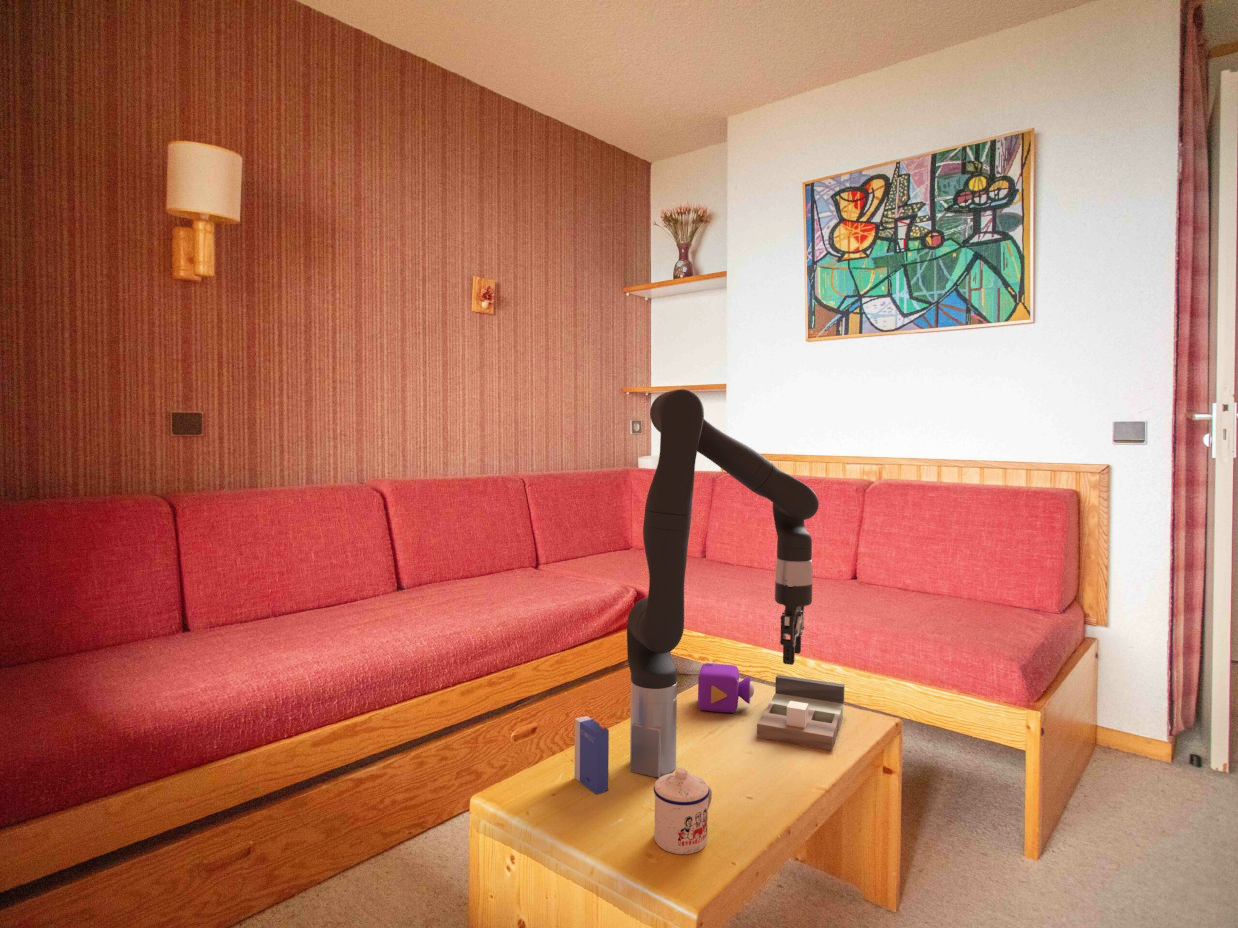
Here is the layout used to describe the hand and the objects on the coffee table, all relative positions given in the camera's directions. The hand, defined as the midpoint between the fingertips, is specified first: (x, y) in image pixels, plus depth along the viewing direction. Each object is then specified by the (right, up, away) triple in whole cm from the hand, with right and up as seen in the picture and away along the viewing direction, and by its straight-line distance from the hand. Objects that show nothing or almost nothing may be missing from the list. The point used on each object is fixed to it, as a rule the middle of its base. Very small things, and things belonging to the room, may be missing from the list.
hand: (792, 658), depth 148 cm
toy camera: (-10, -19, +25) cm, 33 cm away
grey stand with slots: (+6, -19, +15) cm, 25 cm away
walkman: (-41, -20, -14) cm, 48 cm away
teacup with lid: (-25, -21, -31) cm, 45 cm away
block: (+3, -17, +8) cm, 19 cm away
